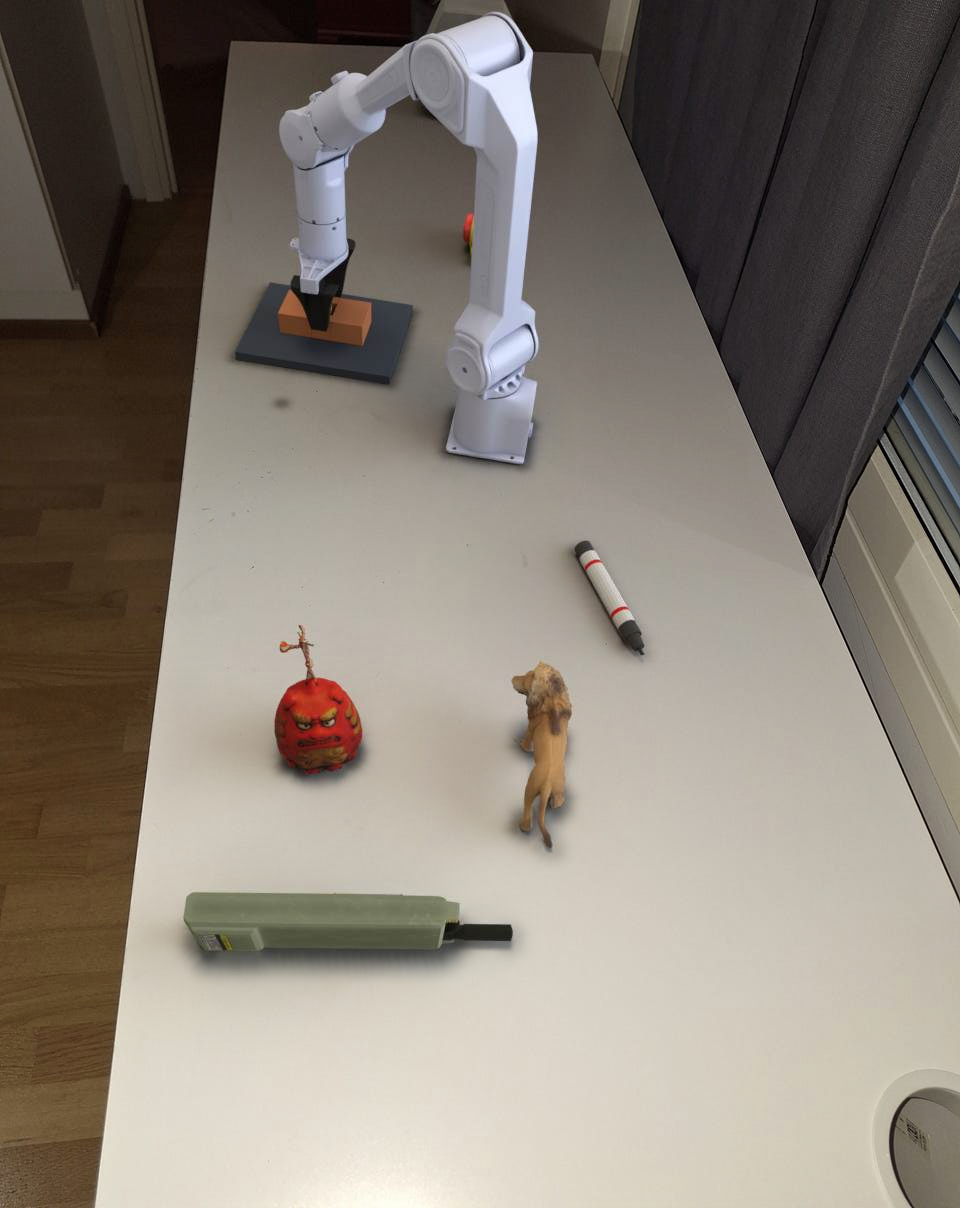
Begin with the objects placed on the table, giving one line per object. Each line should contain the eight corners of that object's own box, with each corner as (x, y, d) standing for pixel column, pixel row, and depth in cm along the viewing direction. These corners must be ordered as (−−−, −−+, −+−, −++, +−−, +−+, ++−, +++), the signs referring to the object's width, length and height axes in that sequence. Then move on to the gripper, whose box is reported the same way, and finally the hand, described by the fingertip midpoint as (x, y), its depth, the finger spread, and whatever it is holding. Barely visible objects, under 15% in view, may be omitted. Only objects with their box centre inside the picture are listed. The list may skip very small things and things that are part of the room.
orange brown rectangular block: (371, 322, 121) (371, 302, 118) (362, 346, 118) (362, 326, 115) (290, 309, 121) (289, 289, 119) (279, 332, 118) (277, 312, 115)
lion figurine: (502, 707, 87) (513, 654, 80) (556, 705, 88) (571, 652, 81) (521, 852, 78) (535, 808, 71) (581, 849, 79) (600, 804, 72)
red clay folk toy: (284, 786, 80) (268, 697, 68) (272, 719, 84) (255, 624, 72) (368, 768, 82) (367, 678, 70) (353, 703, 86) (349, 608, 74)
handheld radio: (202, 911, 73) (509, 915, 75) (195, 953, 71) (511, 956, 73) (188, 884, 67) (519, 890, 69) (180, 929, 66) (521, 934, 67)
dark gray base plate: (412, 312, 125) (413, 274, 120) (389, 384, 115) (390, 345, 111) (270, 289, 125) (266, 250, 121) (235, 359, 115) (229, 320, 111)
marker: (572, 554, 100) (575, 542, 99) (588, 550, 101) (592, 538, 99) (633, 664, 92) (637, 652, 90) (650, 659, 92) (654, 648, 91)
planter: (541, 83, 163) (488, -35, 148) (544, 102, 158) (489, -17, 144) (460, 129, 169) (401, 21, 155) (460, 149, 164) (399, 39, 150)
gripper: (303, 177, 111) (310, 276, 122) (270, 239, 102) (281, 339, 113) (360, 186, 111) (361, 284, 122) (332, 248, 102) (336, 348, 113)
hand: (326, 311), depth 117 cm, fingers open, 7 cm apart
